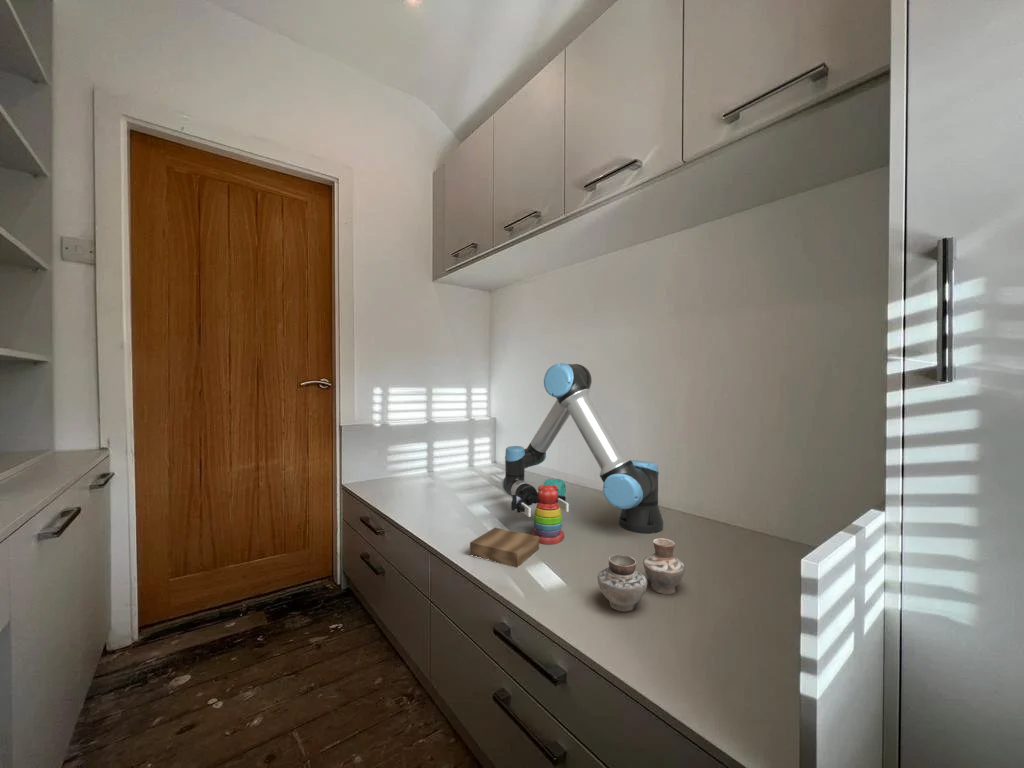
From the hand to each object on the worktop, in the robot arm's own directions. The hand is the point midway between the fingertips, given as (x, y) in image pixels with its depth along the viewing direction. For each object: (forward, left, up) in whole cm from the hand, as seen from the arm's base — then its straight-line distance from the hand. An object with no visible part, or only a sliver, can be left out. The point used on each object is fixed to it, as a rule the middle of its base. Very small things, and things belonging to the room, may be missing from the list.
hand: (549, 510), depth 137 cm
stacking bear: (+1, -1, -10) cm, 10 cm away
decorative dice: (+17, -43, -10) cm, 47 cm away
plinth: (+8, +15, -10) cm, 20 cm away
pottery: (-34, +21, -10) cm, 41 cm away
